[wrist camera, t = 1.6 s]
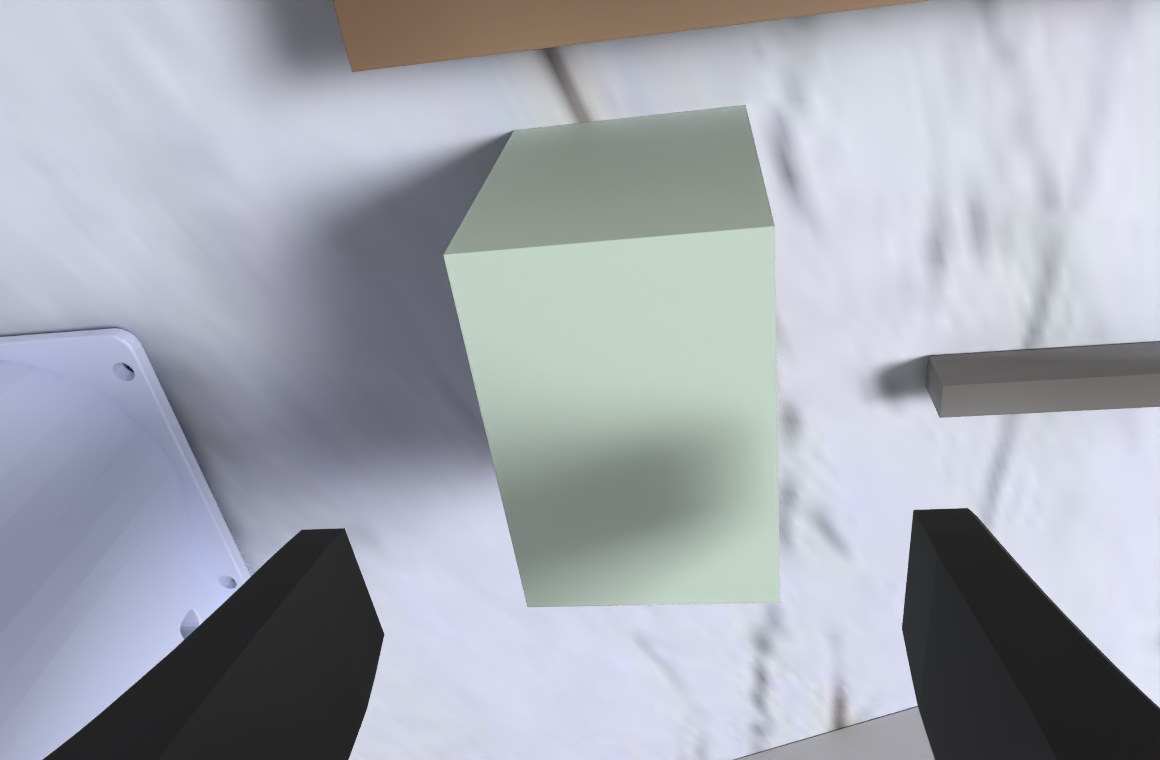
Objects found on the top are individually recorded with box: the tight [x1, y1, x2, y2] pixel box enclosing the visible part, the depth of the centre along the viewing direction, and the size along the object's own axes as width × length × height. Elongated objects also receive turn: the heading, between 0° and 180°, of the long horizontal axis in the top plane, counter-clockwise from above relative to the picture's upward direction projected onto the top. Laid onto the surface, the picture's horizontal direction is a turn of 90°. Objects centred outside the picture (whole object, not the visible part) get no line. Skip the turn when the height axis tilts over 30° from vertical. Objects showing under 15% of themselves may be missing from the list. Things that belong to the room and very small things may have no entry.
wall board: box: [333, 0, 1160, 418], centre depth 15 cm, size 11×18×3 cm, turn 98°
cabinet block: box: [443, 105, 780, 607], centre depth 16 cm, size 8×4×6 cm, turn 8°
